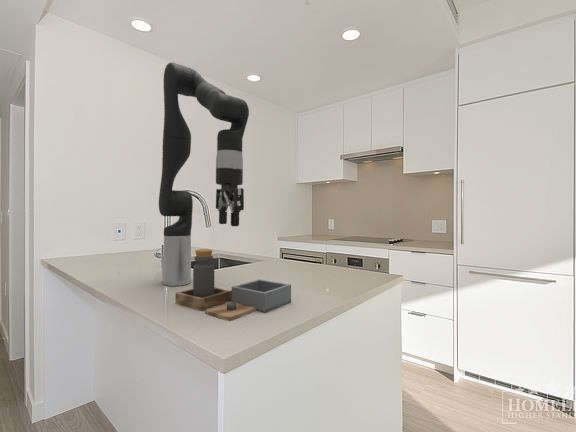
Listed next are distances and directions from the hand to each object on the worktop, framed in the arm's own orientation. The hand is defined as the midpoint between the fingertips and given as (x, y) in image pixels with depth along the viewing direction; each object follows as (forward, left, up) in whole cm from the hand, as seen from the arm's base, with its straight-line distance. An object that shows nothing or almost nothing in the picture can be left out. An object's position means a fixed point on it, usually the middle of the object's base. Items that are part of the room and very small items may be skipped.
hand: (228, 225), depth 90 cm
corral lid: (+7, -6, -22) cm, 24 cm away
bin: (+8, +5, -22) cm, 24 cm away
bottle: (-6, -4, -22) cm, 23 cm away
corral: (-6, -4, -22) cm, 23 cm away
